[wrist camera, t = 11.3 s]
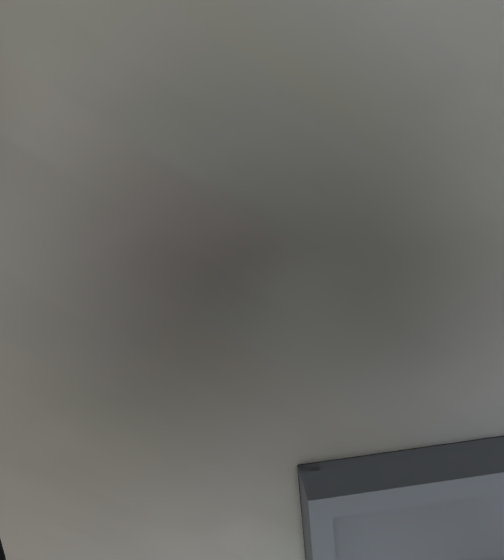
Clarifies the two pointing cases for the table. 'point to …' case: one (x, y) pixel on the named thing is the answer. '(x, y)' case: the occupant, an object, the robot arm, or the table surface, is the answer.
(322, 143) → the table surface
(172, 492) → the table surface
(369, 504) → the tray
